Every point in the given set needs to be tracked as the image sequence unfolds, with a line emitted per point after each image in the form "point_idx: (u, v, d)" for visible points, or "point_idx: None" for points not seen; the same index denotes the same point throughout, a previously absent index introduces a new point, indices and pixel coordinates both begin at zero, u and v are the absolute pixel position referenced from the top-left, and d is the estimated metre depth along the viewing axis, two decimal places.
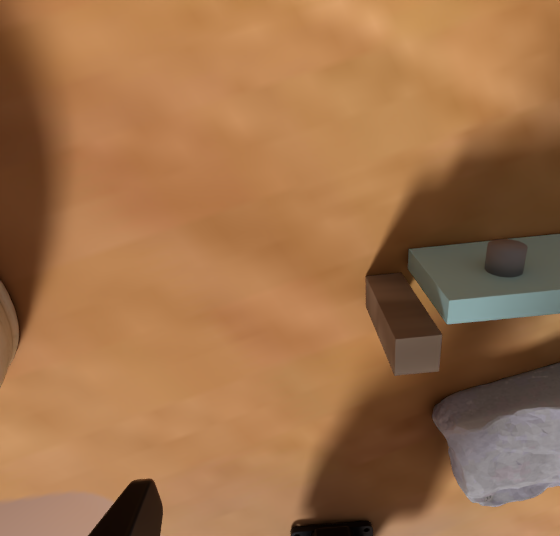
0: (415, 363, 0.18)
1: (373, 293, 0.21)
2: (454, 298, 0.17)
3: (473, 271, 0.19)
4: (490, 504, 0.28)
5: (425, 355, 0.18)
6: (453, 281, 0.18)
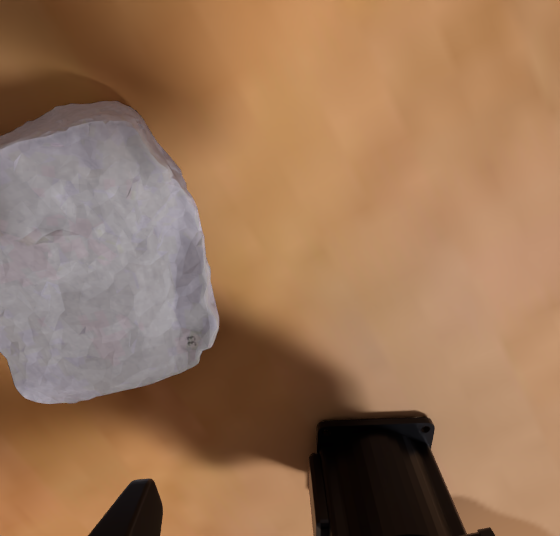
0: None
1: None
2: None
3: None
4: (207, 336, 0.17)
5: None
6: None
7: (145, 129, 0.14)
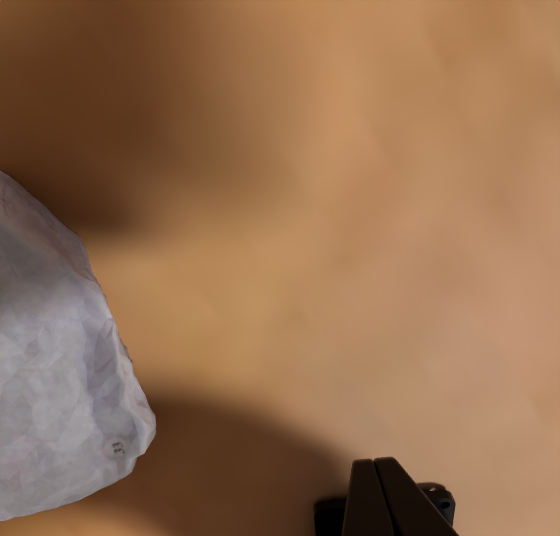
0: None
1: None
2: None
3: None
4: (136, 442, 0.14)
5: None
6: None
7: (13, 203, 0.11)
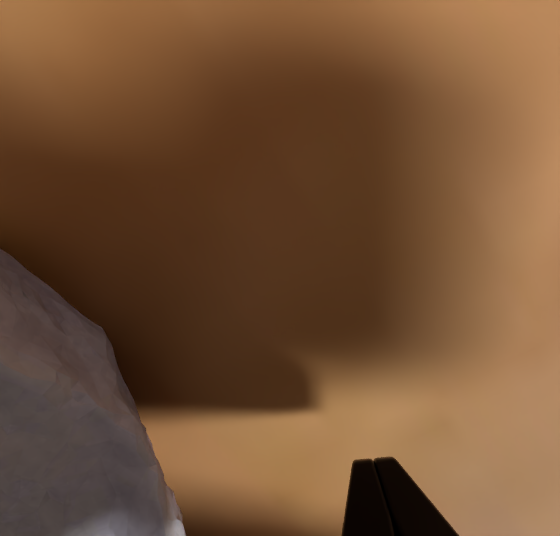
0: None
1: None
2: None
3: None
4: None
5: None
6: None
7: None
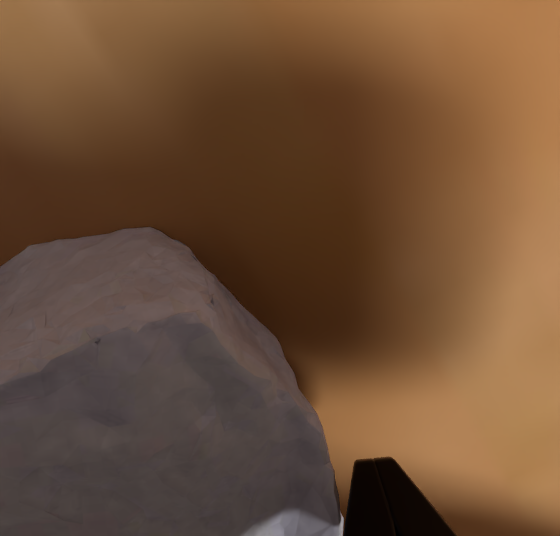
0: None
1: None
2: None
3: None
4: None
5: None
6: None
7: (220, 303, 0.07)
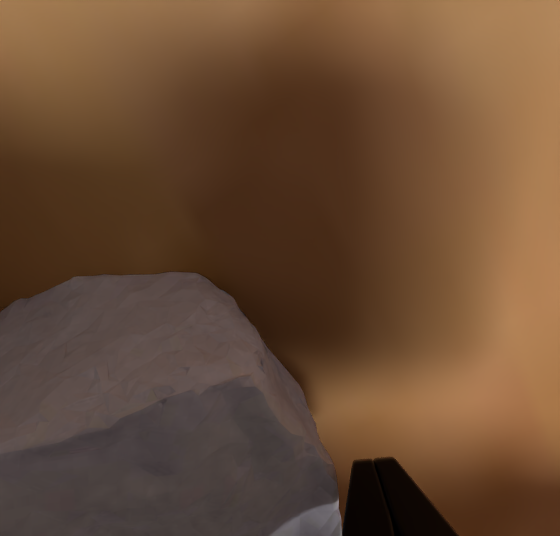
0: None
1: None
2: None
3: None
4: None
5: None
6: None
7: (265, 361, 0.07)
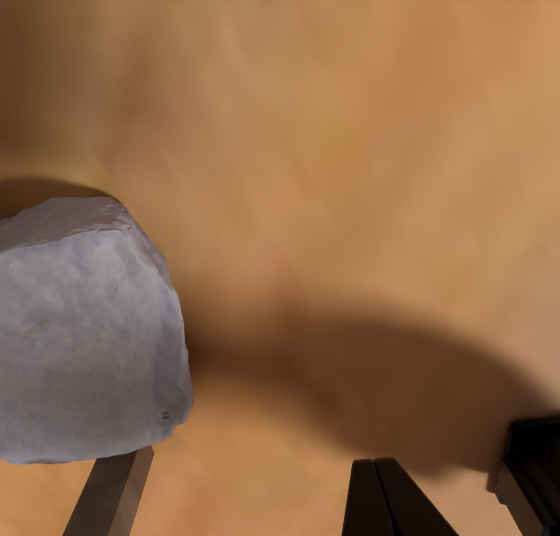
0: None
1: None
2: None
3: None
4: (181, 413, 0.18)
5: None
6: None
7: (134, 231, 0.15)
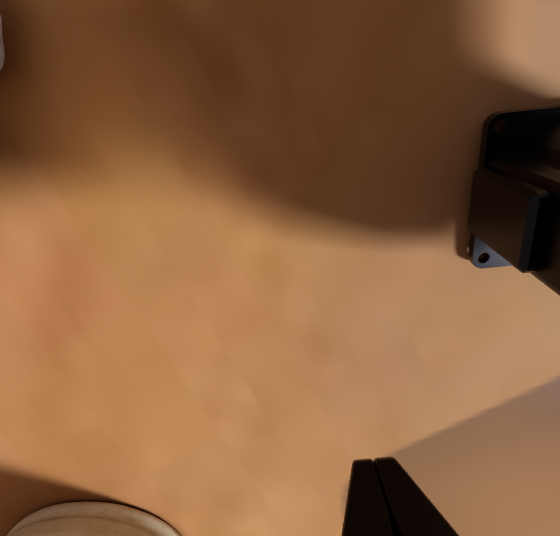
0: None
1: None
2: None
3: None
4: None
5: None
6: None
7: None
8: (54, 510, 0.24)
